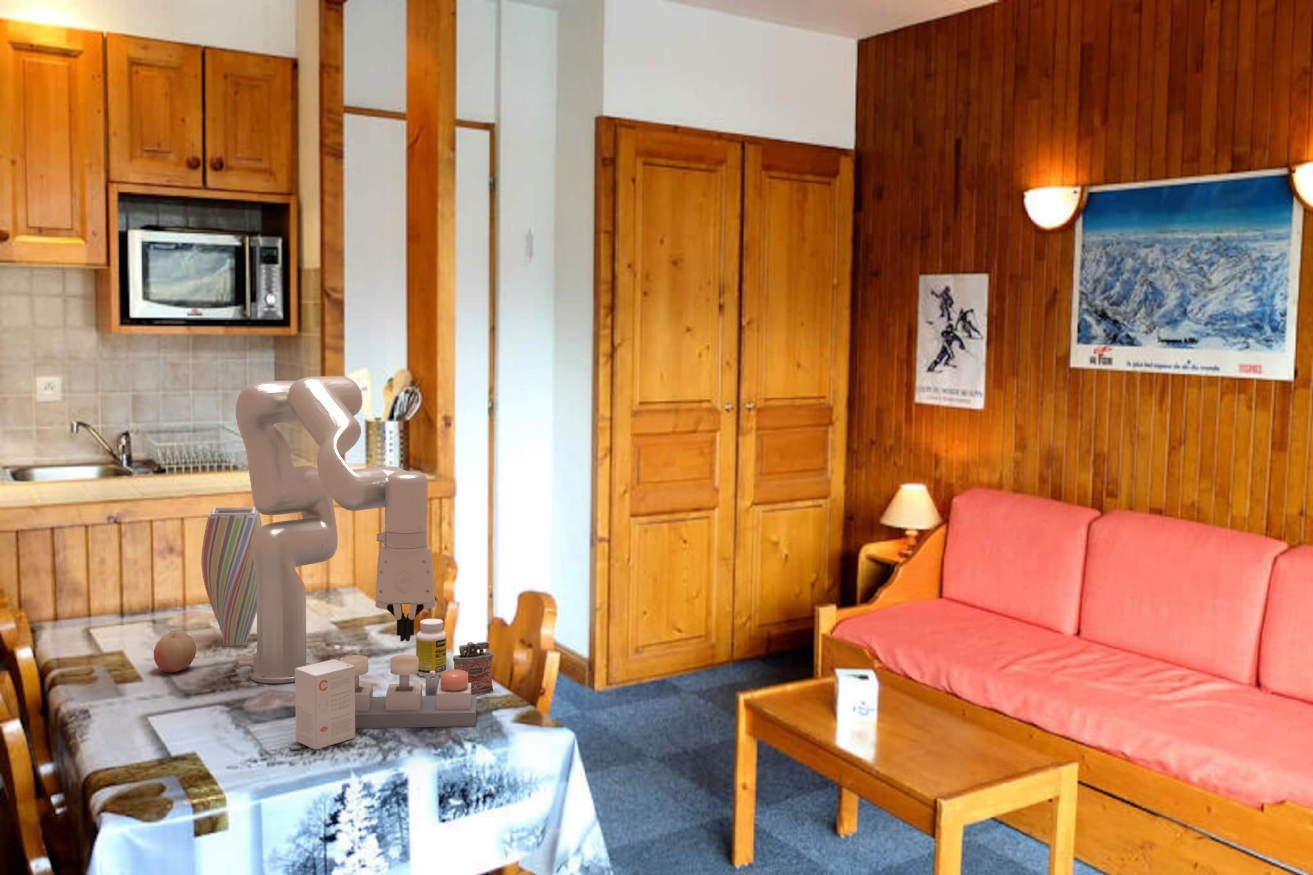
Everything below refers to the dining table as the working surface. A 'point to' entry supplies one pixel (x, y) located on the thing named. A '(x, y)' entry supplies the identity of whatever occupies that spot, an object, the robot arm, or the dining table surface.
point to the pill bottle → (431, 647)
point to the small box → (325, 703)
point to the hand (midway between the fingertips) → (405, 639)
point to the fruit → (174, 651)
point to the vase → (231, 570)
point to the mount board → (414, 707)
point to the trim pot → (431, 684)
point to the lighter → (476, 666)
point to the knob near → (357, 665)
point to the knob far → (454, 680)
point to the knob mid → (404, 668)
